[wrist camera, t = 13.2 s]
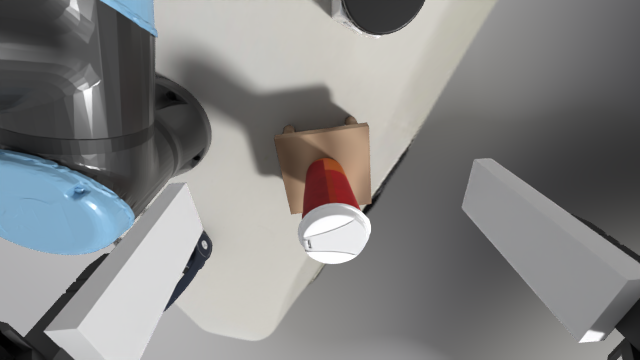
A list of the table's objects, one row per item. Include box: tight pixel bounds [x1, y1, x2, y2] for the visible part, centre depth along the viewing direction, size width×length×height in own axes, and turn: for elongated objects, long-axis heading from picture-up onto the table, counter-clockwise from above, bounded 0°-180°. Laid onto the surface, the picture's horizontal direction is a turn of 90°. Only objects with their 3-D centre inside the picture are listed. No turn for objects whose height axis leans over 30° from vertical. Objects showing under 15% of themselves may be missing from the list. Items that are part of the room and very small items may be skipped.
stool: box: [274, 117, 371, 214], centre depth 42 cm, size 13×13×7 cm
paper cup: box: [298, 158, 371, 264], centre depth 33 cm, size 8×8×14 cm
